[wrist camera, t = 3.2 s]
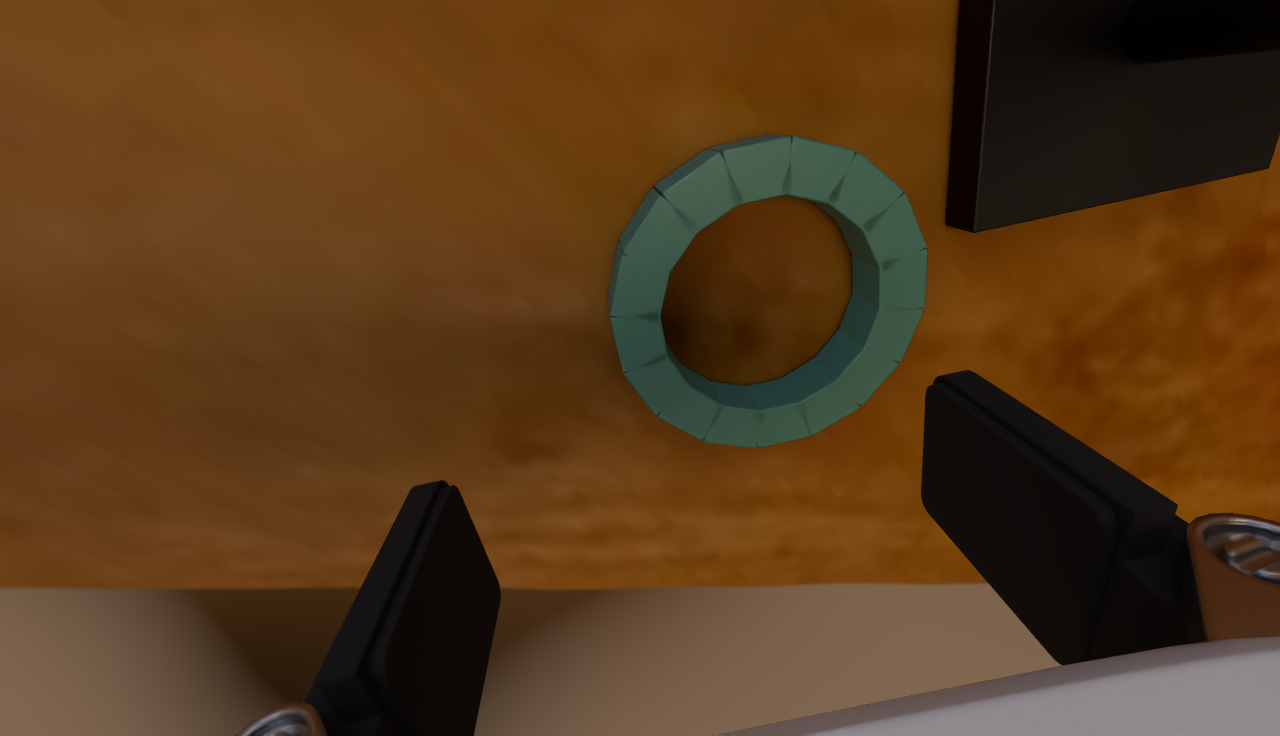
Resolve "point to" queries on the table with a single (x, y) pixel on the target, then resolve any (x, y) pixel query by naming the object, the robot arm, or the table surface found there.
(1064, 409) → the table surface
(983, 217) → the stand
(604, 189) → the table surface
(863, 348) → the bangle
